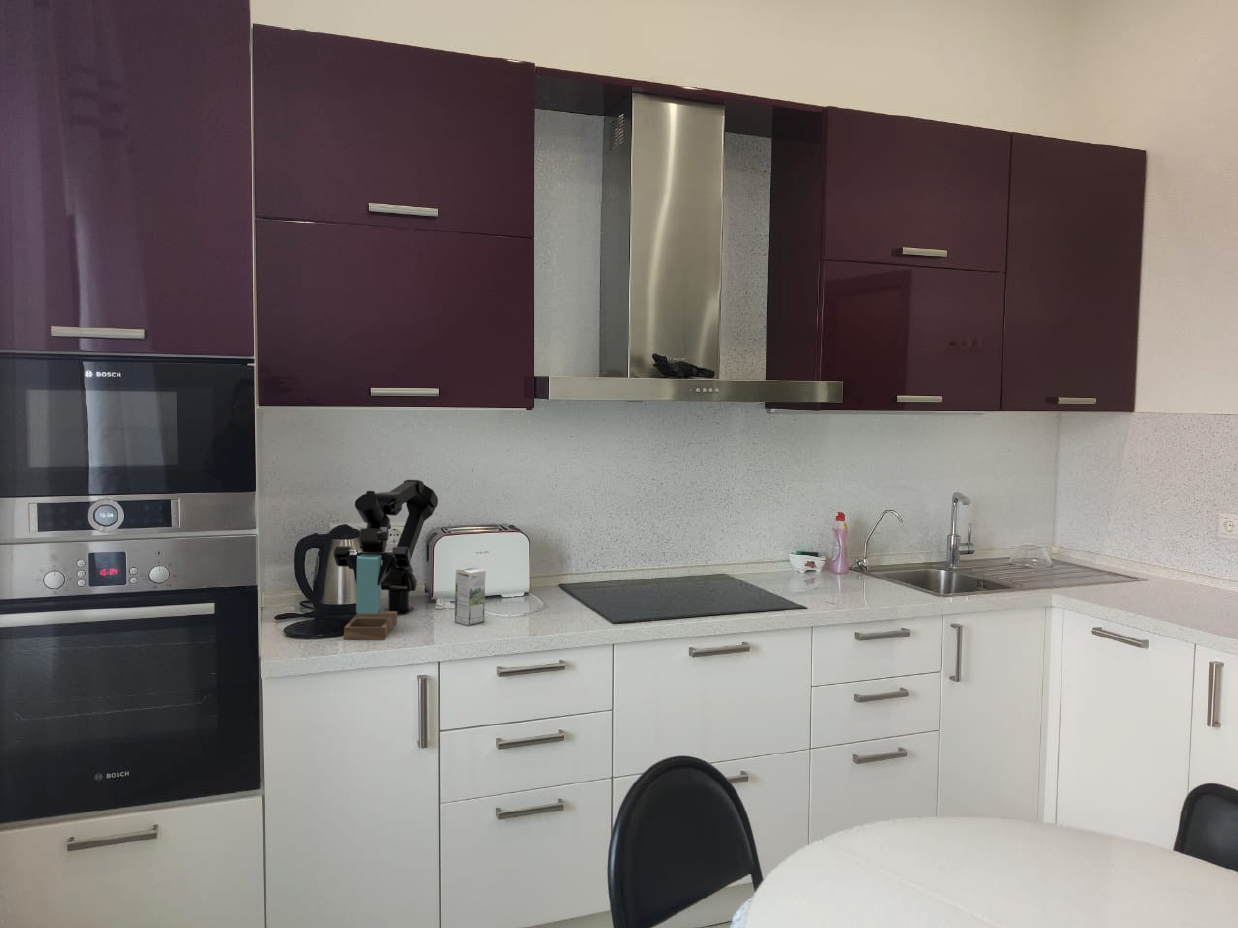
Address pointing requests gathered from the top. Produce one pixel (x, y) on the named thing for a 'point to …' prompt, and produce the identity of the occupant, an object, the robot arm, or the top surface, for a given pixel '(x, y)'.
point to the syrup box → (470, 596)
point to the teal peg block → (368, 584)
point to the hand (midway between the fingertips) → (367, 584)
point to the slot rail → (370, 626)
